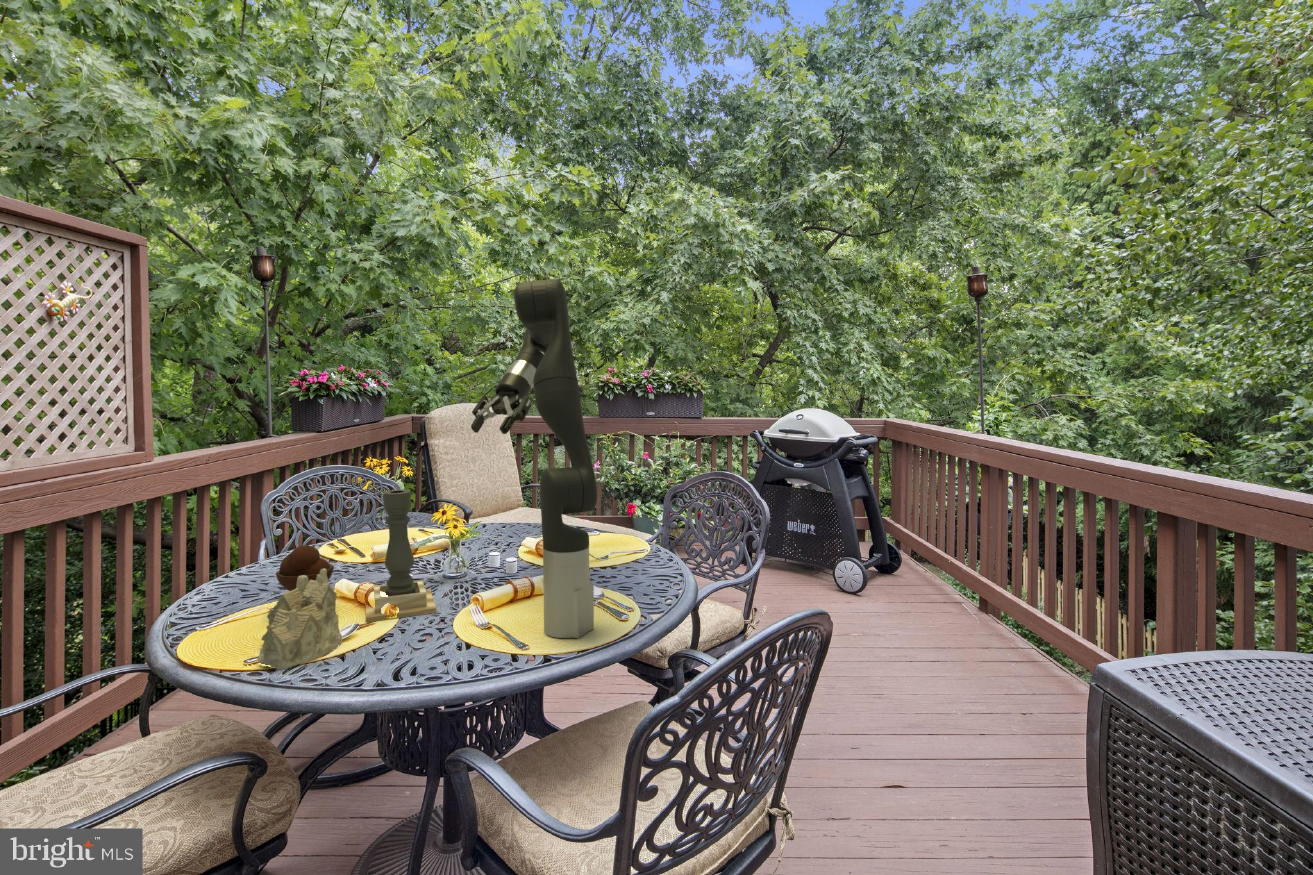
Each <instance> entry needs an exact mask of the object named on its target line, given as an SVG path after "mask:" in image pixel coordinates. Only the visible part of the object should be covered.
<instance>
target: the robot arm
mask: <svg viewBox="0 0 1313 875" xmlns="http://www.w3.org/2000/svg"><path fill="white" fill-rule="evenodd" d="M513 299H514V307H515V311H516V314H517V317H518V320H519V321H520V323H521V324H522V325H523V326H524V327H525V331H524V336H523V341H522V342H523V343H522V345H521V348H520V350H519V352H518V354H517V356H516V357H515V359H514V361H513V362H512V363H511V364H510V365H509V367H508V368H507V370H506V371H505V372H504V374H503V375H502V378H501V379H500V380H499V382H498V384H497V386H496V389H495V394H494V395H493V396H492V397H488V396H487V395H485V394H484V395H482V397H481V398H480V399H479V401H478V402H477V404H476V405H475V407H474V408H473V410H472V411H471V413H472V414H473V416H474V417H475V418H474V420H473V421H472V423H471V425H470V428H471V429H472V431H473V433H475V434H476V433H479V432H480V429H481V428H482V427H483V425H484V423H485V421H487V420H488V419H490V418H494V417H496V416H498V415H499V416H500V415H503V416H505V418H504V420H503V421H502V423H501V424H500V426H499V431H500V432H501V433H502V434H503V435H507V434H508V433H509V431H510V430H511V428H512V427H513V425H514V424H515V423H517V422H518V421H519V422H523V421H524V420H525V418H526V416H528V412H529V411H530V408H531V406H532V402H531V400H530V399H529V397H528V396H529V394H530V392H531V391H532V389H534V398H535V405H536V406H535V407H536V409H537V412H538V414H539V416H540V418H542V420H543V421H544V423H545V424H546V425H547V427H548V428H549V429H550V430H551V431H552V432H553V434H554V435H555V436H556V437H557V438H558V440H559V441H560V442H561V444H562V445H563V447H564V449H565V451H566V453H567V455H568V459H569V462H570V465H571V466H570V467H567V466H566V467H557V468H556V467H553V468H547V469H545V470H543V472H542V473H541V475H540V480H539V500H540V503H539V504H540V516H541V534H542V556H543V557H542V558H543V559H542V560H543V562H542V564H543V565H542V566H543V567H542V568H543V569H542V570H543V574H542V576H543V578H542V579H543V582H542V583H543V631H544V633H545V635H547V636H548V637H552V638H557V639H570V638H574V639H579V638H581V637H582V636H584V635H585V634H587V633H589V632H590V631H592V630H594V628H595V622H594V620H595V617H594V616H595V614H594V613H595V607H594V606H595V605H594V598H595V597H594V594H595V593H594V592H595V591H594V590H595V588H594V587H595V586H594V583H593V582H590V535H589V533H588V532H587V531H586V530H584V529H581V528H579V527H574V526H572V525H568V524H566V523H564V521H563V515H568V514H580V513H586V512H590V511H593V510H594V509H595V508H596V505H597V503H598V502H597V501H598V486H597V485H598V484H597V479H596V475H595V470H594V465H593V461H592V457H591V454H590V449H589V446H588V444H589V443H588V439H587V436H586V431H585V424H584V416H583V410H582V402H581V400H582V399H581V393H580V392H581V391H580V387H579V380H578V375H577V370H576V365H575V359H574V353H573V347H572V340H571V329H570V320H569V319H570V317H569V309H568V307H569V306H568V301H567V300H568V298H567V293H566V289H565V286H564V284H563V282H562V281H561V280H560V279H558V278H549V279H540V280H531V281H529V280H528V281H524V282H523V281H522V282H520V283H517V285H516V286H515V288H514V293H513ZM490 408H491V410H492V411H491V410H490ZM485 413H486V414H485ZM484 414H485V415H484Z"/></svg>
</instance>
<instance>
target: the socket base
mask: <svg viewBox="0 0 1313 875" xmlns="http://www.w3.org/2000/svg"><path fill="white" fill-rule="evenodd" d="M412 584H413V585H415V593H412V594H404V595H396V596H388V597H381V596H380V590H381V591H383V592H385V593H386V588H387V587H389V586H387V583H386V584H376V585H373V596H374V599H375V609H374V608H372V607H370V606H368V605H366V604H365V622H366V623H371V622H370V621H373V622H379V621H378V620H380V621H385V620H384V619H387V620H389V619H388V618H387V617H389V616H390V615H384V614H382V613H381V608H382V607H383V606H384V605H385V604H387V603H389V604H393V605H394V606H397V607H398V608H399V612H398V613H397V618H396V619H401V618H407V617H408V618H409V617H415V616H422V615H429V614H436V613H437V606H436V602H435V600H434V596H433V594H432V591H431V589H430V588H429V589H426V587H425V584H424V581H423V579H421V580H414V582H413V583H412ZM391 615H392V616H394V614H391ZM395 615H396V614H395ZM392 616H391V617H392Z"/></svg>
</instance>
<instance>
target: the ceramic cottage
mask: <svg viewBox="0 0 1313 875" xmlns="http://www.w3.org/2000/svg"><path fill="white" fill-rule="evenodd" d="M337 595H338V594H337V593H336V592H335V591H334V590H333V588H332V587H331V583H330V582H329V580H328V578H327V569H325V568H324V569H321V570H320V574H318V575H317V577H316V580H315V581H314V580H310V581H309V580H308V577H307V576H306V575H301V576H299V577H298V578H297V585H296V589H294V590H292V591H289V590H288V591H287V592H285V593H282V594H280V597H279V598H278V601H277V602H276V604H275V605H274V606H273V608H272V609H271V610H270V612H268V614H267V616H266V617H267V619H268V625H266V632H265V633H264V635H263V636H262V637H261V639H260V640H262V641H263V644H262V646H261V648H260V650H259V655H258V657H257V658H256V661H257V660H258V661H259V663H261V664H265V665H270V666H271V667H275V668H277V669H276V670H286V669H287V670H288V669H291V668H293V667H297V666H298V665H304V664H307V663H309V662H311V661H315V660H317V659H316V658H319V657H320V658H322V657H325V656H326V655H325V654H327V653H329V652H330V651H331V652H333V651H334V650H333V649H335V650H336V649H337V648H336V647H338V645H340V644H341V645H342V644H343V642H342V641H343V636H342V633H341V631H340V628H339V614H337V612H336V607H337V605H336V600H337V598H338V596H337ZM341 645H340V646H341ZM338 648H339V647H338ZM329 654H330V653H329ZM324 655H325V656H324ZM327 655H328V654H327ZM321 656H322V657H321ZM320 658H319V659H320Z"/></svg>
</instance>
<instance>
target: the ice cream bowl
mask: <svg viewBox="0 0 1313 875" xmlns="http://www.w3.org/2000/svg"><path fill="white" fill-rule="evenodd" d="M334 567H335V566H334V565H333V564H331V563H329V561H327V560H326V559H324V558H322V557H321V555H320V551H319V550H318V548H316V547H314V546H311V545H303V544H302V545H300V546H297V547H295V548H294V549H293V550H292V551H291V552H290V553H289V554H287V555H286V556H285V557H283V559H282V560H281V563H280V564H279V570H278V571H277V572H275V576H276V580H277V582H278V583H279V585H280V586H282V587H283V588H284V589H285V590H287V591H288V592H289V591H292V590H294V589H296V585H297V578H298V577H299V576H301V575H306V576H307V577H308V580H309V581H310V580H314V581H315V580H316V577H317V575H318V574H320V570H321V569H324V568H325V569H327V578H328V581H329V580H331V577H332V575H333V573H334Z"/></svg>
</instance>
